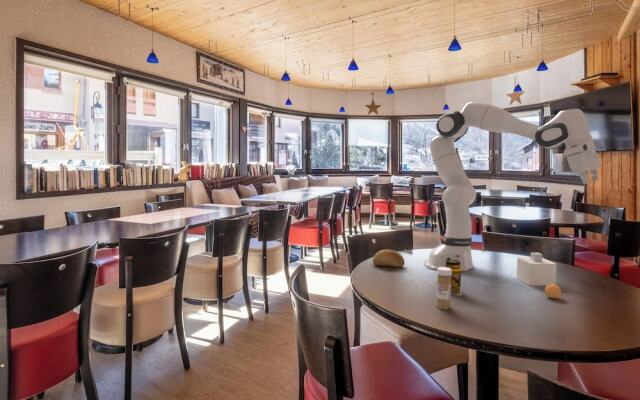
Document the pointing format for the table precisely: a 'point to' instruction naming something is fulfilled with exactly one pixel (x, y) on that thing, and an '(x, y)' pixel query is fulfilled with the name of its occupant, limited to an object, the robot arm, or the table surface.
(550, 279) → the white box
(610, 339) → the table surface
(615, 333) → the table surface
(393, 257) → the bread roll
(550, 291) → the ball
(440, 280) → the sprinkles bottle
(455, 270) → the condiment
